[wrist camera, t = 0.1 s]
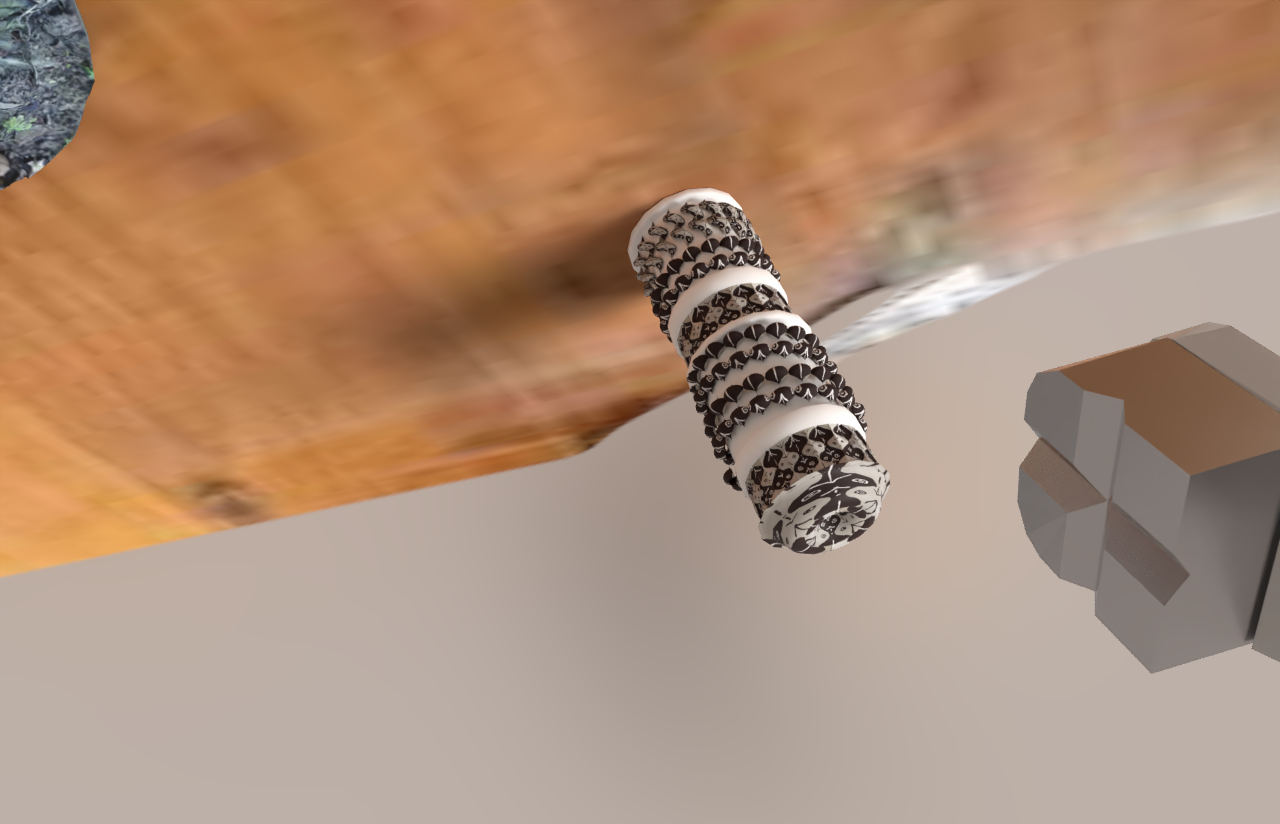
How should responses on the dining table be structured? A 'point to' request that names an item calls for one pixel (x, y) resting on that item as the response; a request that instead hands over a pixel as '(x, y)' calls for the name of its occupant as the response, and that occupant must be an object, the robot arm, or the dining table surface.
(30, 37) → the tree stump
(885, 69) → the dining table surface
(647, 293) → the decorative candle
